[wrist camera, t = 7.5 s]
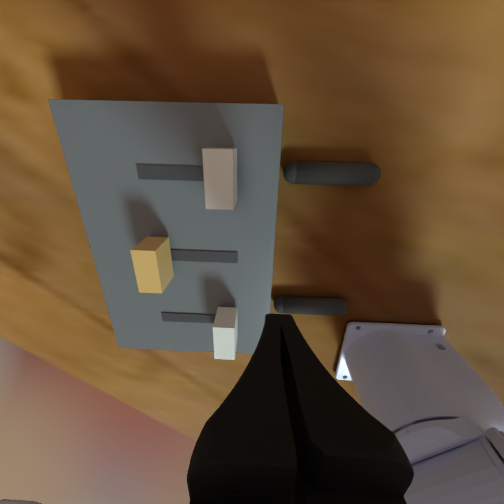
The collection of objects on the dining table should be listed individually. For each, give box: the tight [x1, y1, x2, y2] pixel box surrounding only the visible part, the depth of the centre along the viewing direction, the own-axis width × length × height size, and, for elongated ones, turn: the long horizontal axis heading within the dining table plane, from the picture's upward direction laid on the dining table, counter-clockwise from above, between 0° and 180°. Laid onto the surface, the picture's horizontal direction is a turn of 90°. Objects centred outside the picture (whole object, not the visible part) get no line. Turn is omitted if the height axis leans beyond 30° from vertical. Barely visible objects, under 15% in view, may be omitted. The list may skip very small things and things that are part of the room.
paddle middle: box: [130, 236, 174, 293], centre depth 17 cm, size 2×3×2 cm, turn 179°
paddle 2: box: [213, 307, 238, 360], centre depth 19 cm, size 2×3×2 cm, turn 179°
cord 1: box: [284, 161, 381, 186], centre depth 18 cm, size 7×2×2 cm, turn 89°
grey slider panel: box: [48, 99, 284, 354], centre depth 20 cm, size 14×20×3 cm
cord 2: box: [274, 296, 348, 316], centre depth 23 cm, size 7×2×2 cm, turn 89°
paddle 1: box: [202, 148, 237, 210], centre depth 14 cm, size 2×3×2 cm, turn 179°
